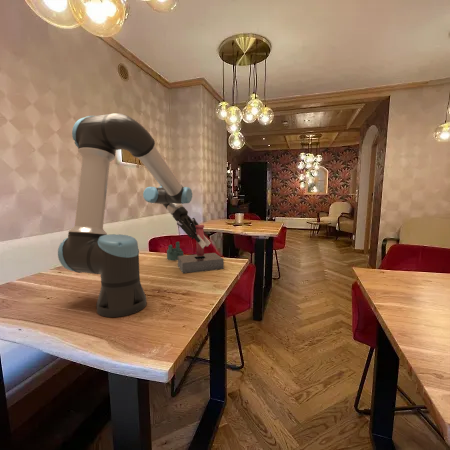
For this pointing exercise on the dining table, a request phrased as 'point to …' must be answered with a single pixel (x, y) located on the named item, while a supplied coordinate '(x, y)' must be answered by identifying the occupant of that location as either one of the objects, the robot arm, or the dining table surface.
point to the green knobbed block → (174, 252)
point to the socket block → (200, 263)
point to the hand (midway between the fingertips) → (206, 245)
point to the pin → (200, 232)
